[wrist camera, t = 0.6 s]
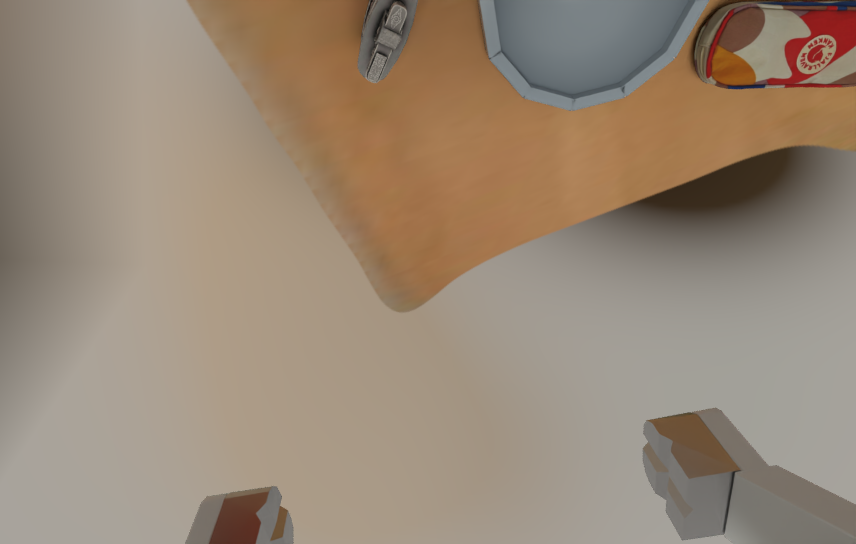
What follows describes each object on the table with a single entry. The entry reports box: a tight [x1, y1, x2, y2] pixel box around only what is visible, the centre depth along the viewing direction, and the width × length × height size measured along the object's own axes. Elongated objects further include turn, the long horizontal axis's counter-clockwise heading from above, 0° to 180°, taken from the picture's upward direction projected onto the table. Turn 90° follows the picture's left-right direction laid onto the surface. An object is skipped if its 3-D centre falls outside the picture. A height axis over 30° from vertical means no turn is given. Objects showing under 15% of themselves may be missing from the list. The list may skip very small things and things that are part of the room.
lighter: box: [358, 0, 418, 83], centre depth 42 cm, size 8×3×10 cm, turn 154°
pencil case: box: [694, 0, 856, 89], centre depth 48 cm, size 11×20×5 cm, turn 75°
